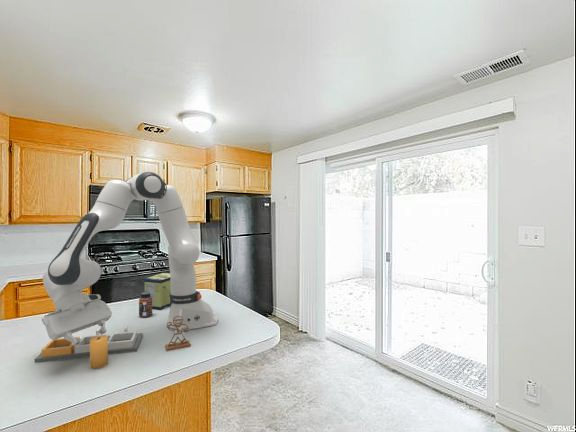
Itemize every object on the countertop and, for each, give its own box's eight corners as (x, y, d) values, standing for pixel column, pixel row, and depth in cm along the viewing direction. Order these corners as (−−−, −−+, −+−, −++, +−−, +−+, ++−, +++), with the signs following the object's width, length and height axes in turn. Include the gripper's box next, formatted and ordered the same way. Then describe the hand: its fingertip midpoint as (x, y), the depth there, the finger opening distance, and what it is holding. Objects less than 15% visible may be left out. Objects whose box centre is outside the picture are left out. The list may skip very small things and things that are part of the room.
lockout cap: (109, 359, 109) (109, 334, 109) (105, 367, 104) (105, 340, 104) (92, 361, 108) (92, 335, 107) (87, 369, 103) (87, 342, 102)
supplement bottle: (147, 318, 148) (147, 295, 147) (136, 317, 149) (135, 294, 149) (155, 314, 154) (154, 291, 153) (144, 313, 155) (144, 290, 154)
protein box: (179, 301, 174) (179, 273, 174) (160, 310, 159) (160, 280, 159) (164, 299, 177) (164, 272, 177) (144, 308, 163) (143, 278, 162)
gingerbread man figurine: (188, 342, 124) (188, 312, 123) (190, 346, 120) (190, 315, 120) (165, 347, 119) (164, 316, 119) (166, 351, 116) (166, 319, 115)
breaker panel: (143, 335, 129) (142, 324, 129) (136, 351, 116) (136, 338, 115) (52, 344, 120) (52, 332, 120) (34, 362, 107) (34, 349, 107)
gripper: (43, 309, 100) (62, 345, 97) (103, 293, 119) (121, 322, 115) (35, 321, 102) (54, 356, 99) (96, 303, 121) (113, 332, 117)
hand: (91, 338), depth 107 cm, fingers open, 8 cm apart
